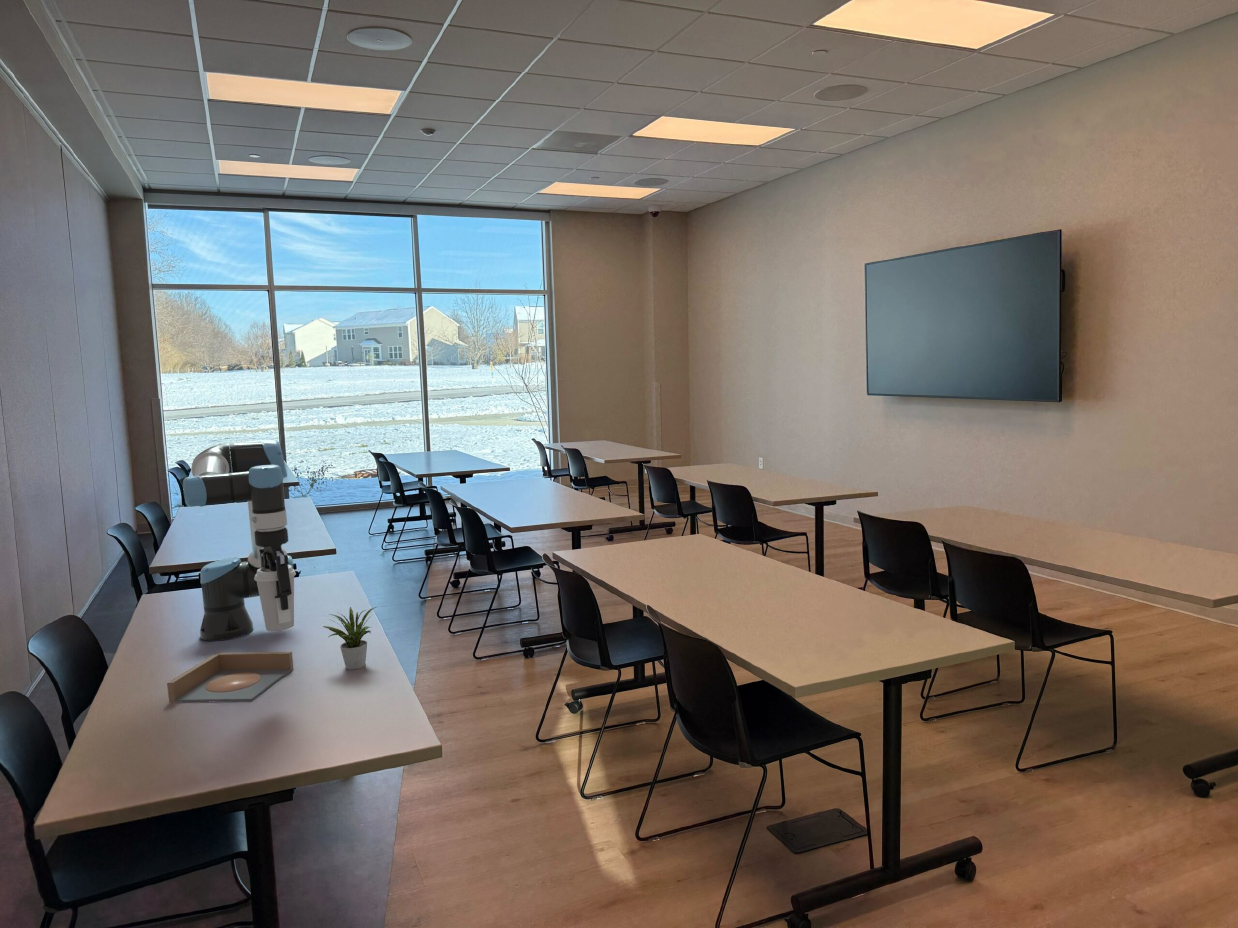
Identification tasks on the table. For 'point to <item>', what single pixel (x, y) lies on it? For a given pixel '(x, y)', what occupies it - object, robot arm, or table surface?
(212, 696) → the tray
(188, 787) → the table surface
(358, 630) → the house plant
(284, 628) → the coffee cup
